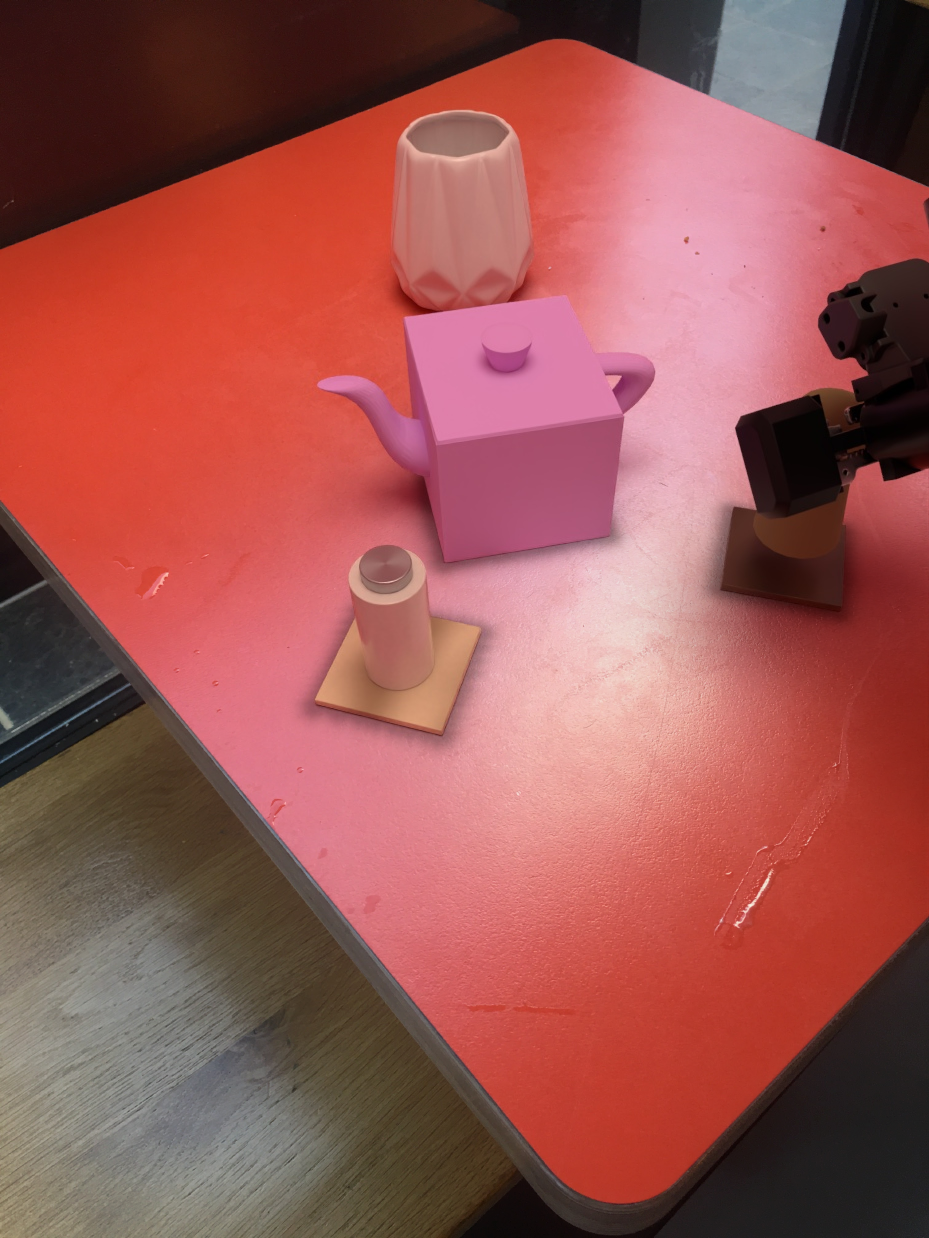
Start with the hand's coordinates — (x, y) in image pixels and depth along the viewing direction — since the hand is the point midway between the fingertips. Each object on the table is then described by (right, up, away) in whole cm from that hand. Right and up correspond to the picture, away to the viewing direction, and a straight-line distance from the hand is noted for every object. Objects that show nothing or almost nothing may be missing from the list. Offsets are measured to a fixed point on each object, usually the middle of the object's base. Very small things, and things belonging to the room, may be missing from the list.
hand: (807, 445), depth 62 cm
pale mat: (-28, -15, +2) cm, 31 cm away
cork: (+1, -5, +4) cm, 7 cm away
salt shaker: (-28, -15, +1) cm, 31 cm away
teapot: (-21, -1, +13) cm, 25 cm away
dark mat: (+1, -7, +7) cm, 10 cm away
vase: (-23, +22, +32) cm, 46 cm away
